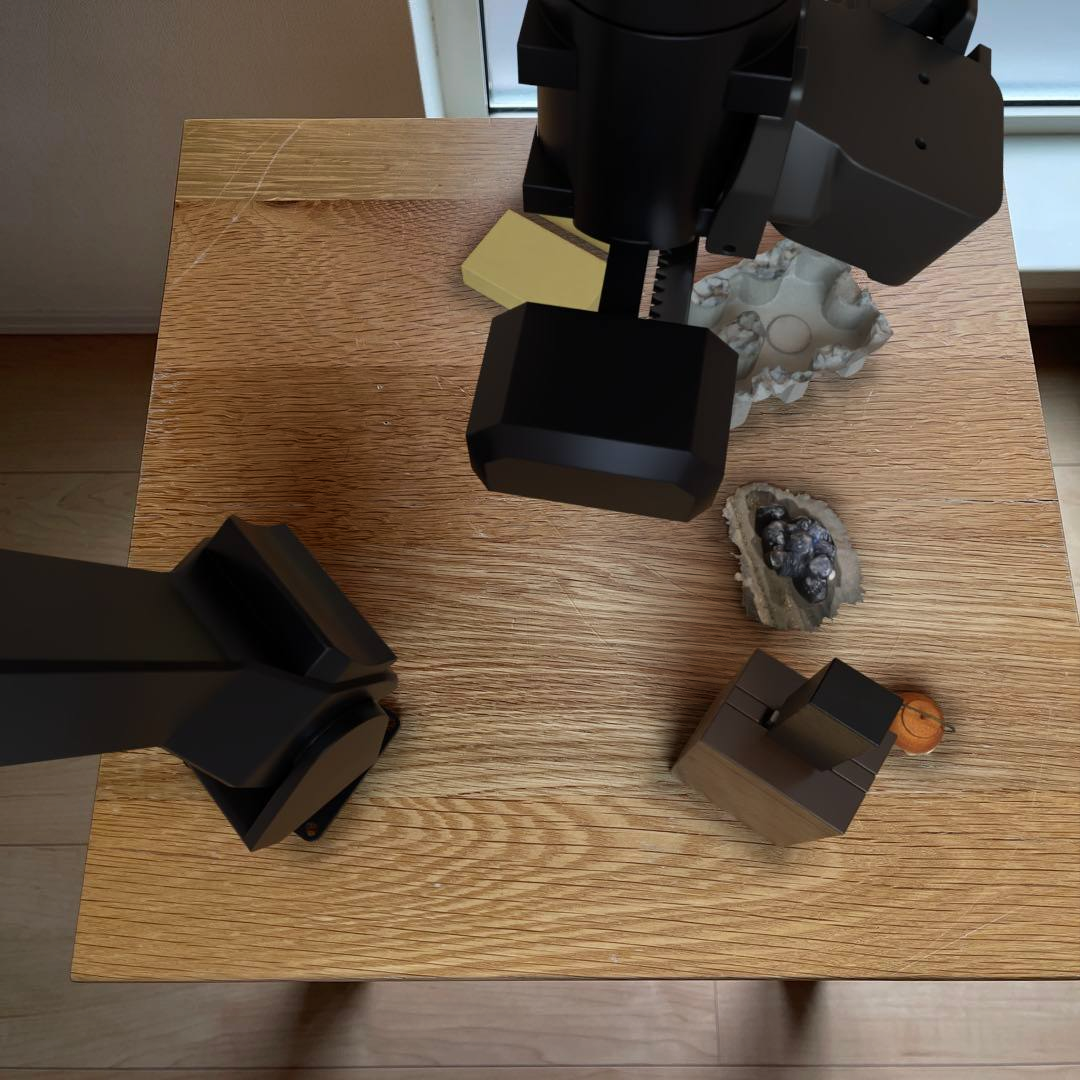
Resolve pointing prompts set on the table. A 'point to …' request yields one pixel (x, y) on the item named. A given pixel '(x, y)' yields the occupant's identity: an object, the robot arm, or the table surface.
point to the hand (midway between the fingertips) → (621, 349)
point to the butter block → (533, 267)
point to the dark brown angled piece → (834, 716)
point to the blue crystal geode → (791, 557)
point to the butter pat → (575, 231)
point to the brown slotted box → (771, 762)
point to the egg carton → (788, 321)
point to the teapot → (918, 725)
